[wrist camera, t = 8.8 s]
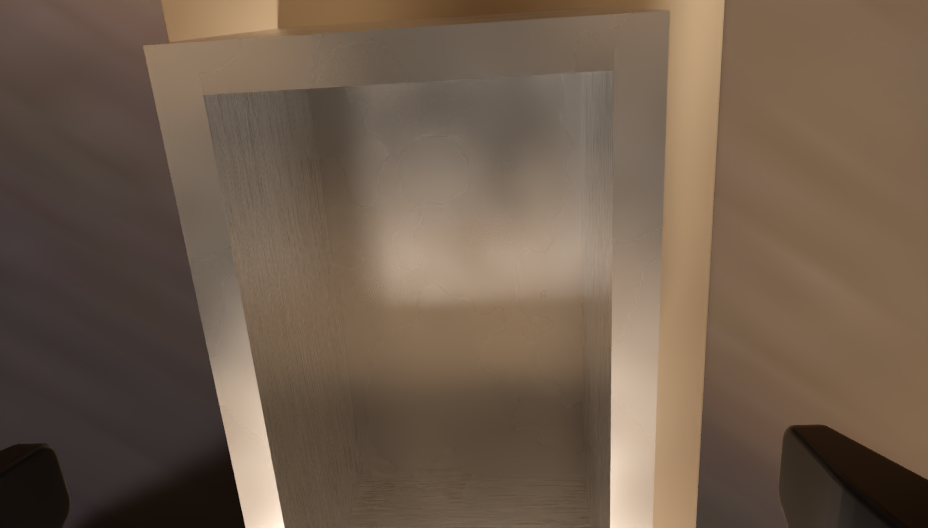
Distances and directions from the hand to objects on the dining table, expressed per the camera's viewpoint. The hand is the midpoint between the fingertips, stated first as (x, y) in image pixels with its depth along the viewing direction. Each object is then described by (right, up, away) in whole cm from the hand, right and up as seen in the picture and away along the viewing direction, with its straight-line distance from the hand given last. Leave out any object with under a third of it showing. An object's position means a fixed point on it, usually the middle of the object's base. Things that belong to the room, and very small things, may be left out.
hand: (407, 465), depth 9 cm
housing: (+1, +2, +6) cm, 6 cm away
